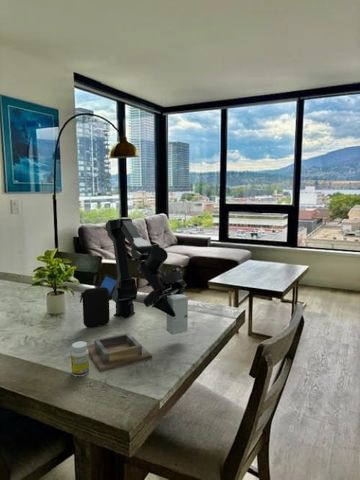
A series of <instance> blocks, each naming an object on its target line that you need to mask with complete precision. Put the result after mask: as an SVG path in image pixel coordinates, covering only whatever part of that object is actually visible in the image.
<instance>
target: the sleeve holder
mask: <svg viewBox="0 0 360 480" xmlns="http://www.w3.org/2000/svg"><path fill="white" fill-rule="evenodd" d="M87 349H88V352H89V357H90V358H91V359H92V361H93V362H94V364H95V365H96V367H97V369H98V371H99V372H104V371H107V370H111V369H115V368H119V367H123V366H124V367H125V366H128V365H130V364H131V365H132V364H135V363H139V362H143V361H147V360H152V359H153V355H152V354H151V352H149V351H148V350H147V349H146V348H145V347H144V346H143V345H142V344H141V343H140V342H139V341H138V340H137V339H136V338H135V337H134V336H133V335H131V334H130V333H129V332H126V333H123V334H117V335H113V336H107V337H102V338H97V339H94V344H93V343H92V344H89V345H88V344H87Z"/></svg>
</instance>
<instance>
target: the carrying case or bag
mask: <svg viewBox="0 0 360 480" xmlns="http://www.w3.org/2000/svg"><path fill="white" fill-rule="evenodd" d="M82 292H83V293H82ZM82 292H81V293H82V295H81V294H80V299H79V303H82V317H83V320H82V321H83V325H84V326H85V328H89V329H90V328H98V327H103V326H106V325H108V324H109V322H110V321H111V318H110V315H111V314H110V300H109V290H108V289H107V288H106V287H100V288H97V287H93V288H87V289H85V290H84V291H82Z"/></svg>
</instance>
